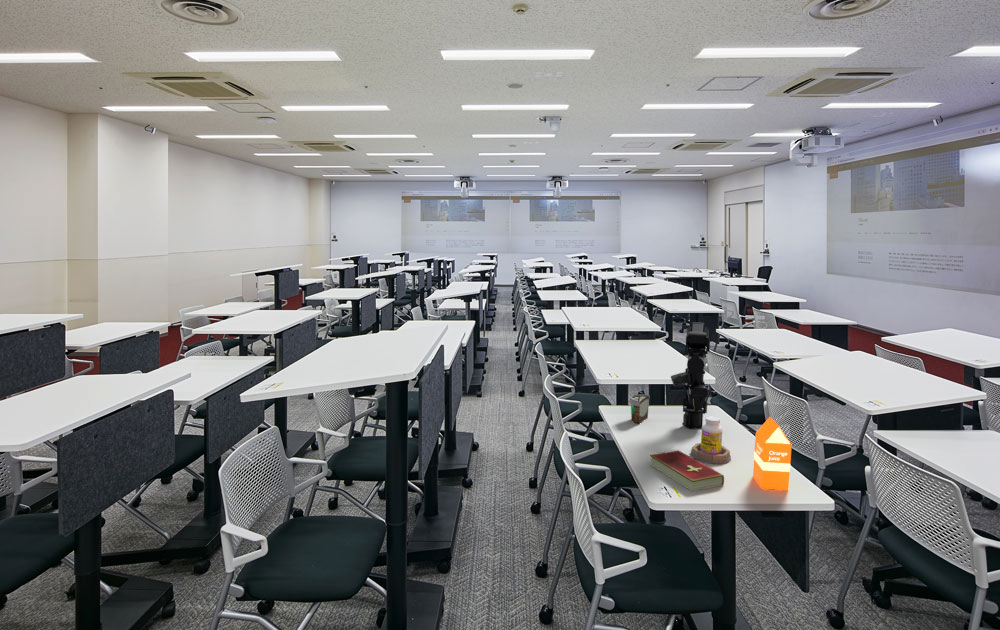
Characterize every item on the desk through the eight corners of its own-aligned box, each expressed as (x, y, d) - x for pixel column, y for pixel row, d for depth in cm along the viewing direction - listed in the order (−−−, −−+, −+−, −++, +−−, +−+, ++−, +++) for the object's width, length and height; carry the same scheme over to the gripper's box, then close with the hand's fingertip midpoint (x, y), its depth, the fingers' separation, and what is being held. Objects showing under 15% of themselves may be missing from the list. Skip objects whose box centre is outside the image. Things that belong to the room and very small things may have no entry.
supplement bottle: (697, 454, 185) (699, 418, 183) (704, 448, 190) (706, 414, 188) (716, 459, 180) (718, 423, 179) (724, 453, 185) (725, 418, 183)
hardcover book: (678, 460, 182) (679, 449, 182) (723, 486, 163) (724, 473, 162) (649, 466, 178) (649, 454, 178) (691, 493, 159) (692, 480, 158)
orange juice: (778, 478, 168) (782, 417, 165) (788, 491, 159) (793, 426, 156) (752, 476, 169) (756, 416, 166) (761, 489, 160) (765, 425, 158)
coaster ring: (718, 448, 192) (719, 441, 192) (738, 463, 179) (738, 455, 179) (684, 449, 191) (684, 442, 190) (701, 464, 178) (701, 457, 178)
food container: (635, 414, 230) (635, 392, 229) (648, 417, 226) (649, 394, 225) (624, 422, 220) (624, 399, 219) (638, 425, 217) (639, 401, 215)
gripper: (669, 360, 205) (667, 399, 207) (677, 372, 187) (675, 414, 189) (699, 361, 204) (697, 401, 206) (710, 373, 185) (707, 416, 187)
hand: (693, 407), depth 197 cm, fingers open, 9 cm apart
